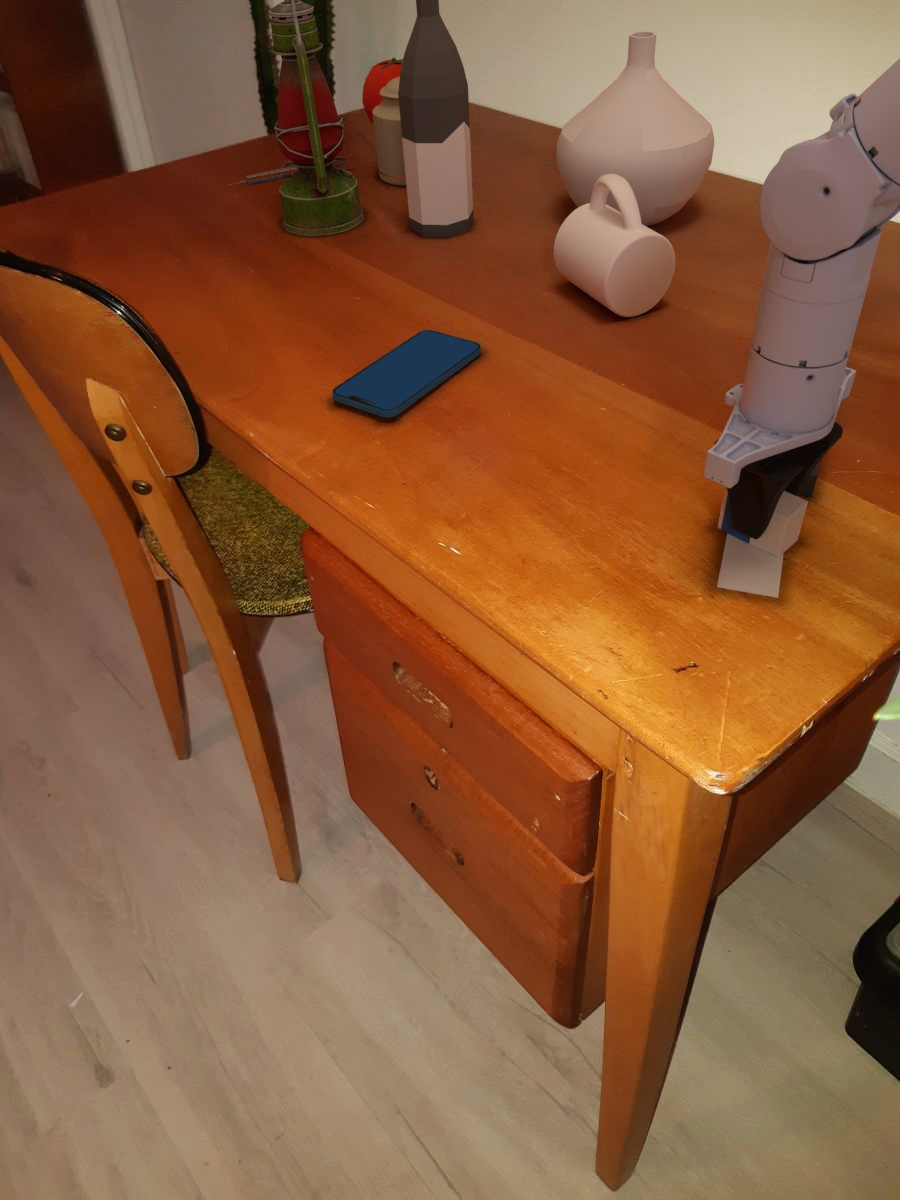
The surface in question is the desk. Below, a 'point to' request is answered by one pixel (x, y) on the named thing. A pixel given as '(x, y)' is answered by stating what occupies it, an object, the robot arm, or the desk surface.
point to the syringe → (281, 176)
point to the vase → (638, 139)
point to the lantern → (309, 131)
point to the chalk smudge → (749, 569)
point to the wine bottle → (435, 128)
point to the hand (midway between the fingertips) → (759, 521)
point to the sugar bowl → (389, 135)
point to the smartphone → (406, 373)
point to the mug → (614, 251)
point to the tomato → (378, 83)
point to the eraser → (771, 524)
